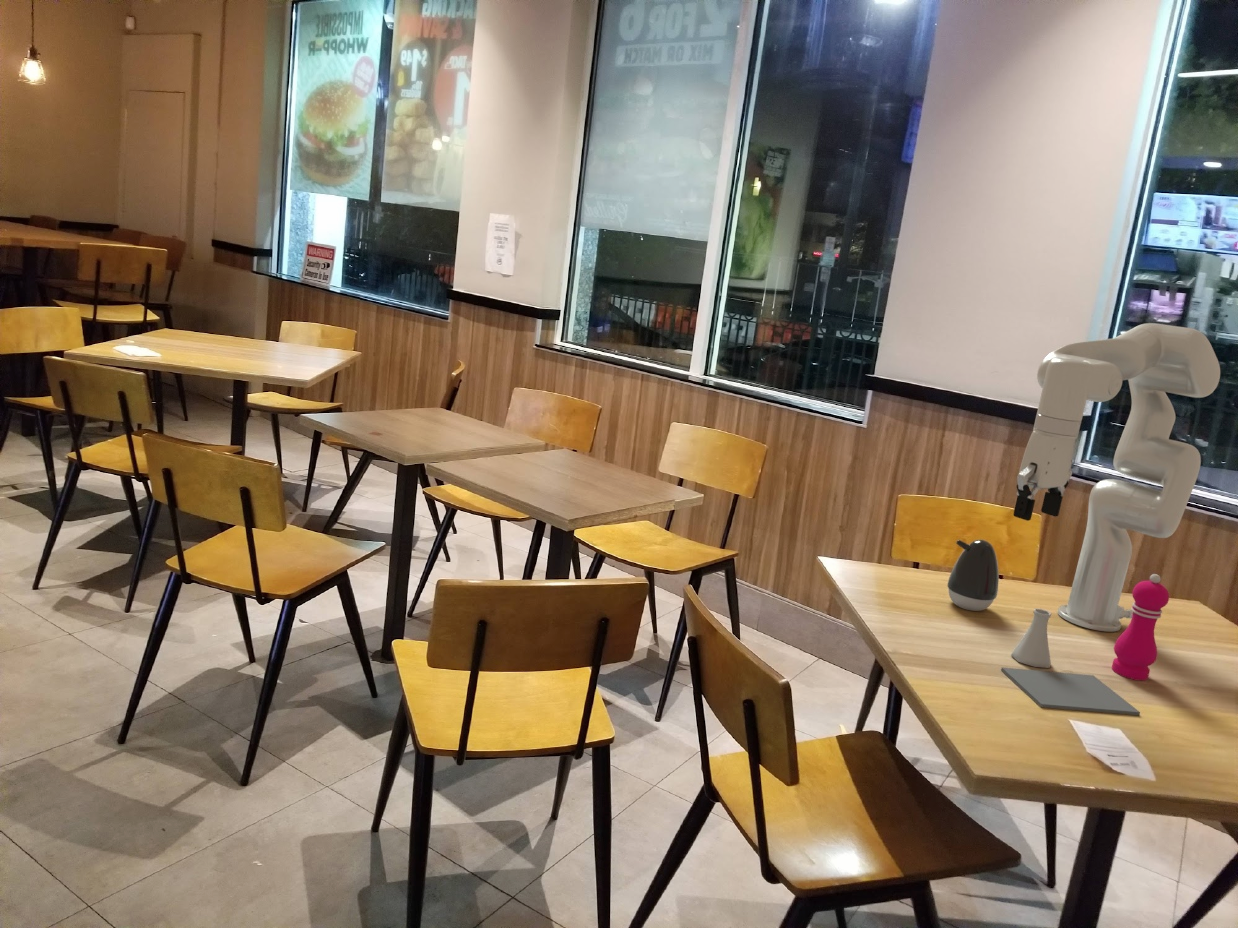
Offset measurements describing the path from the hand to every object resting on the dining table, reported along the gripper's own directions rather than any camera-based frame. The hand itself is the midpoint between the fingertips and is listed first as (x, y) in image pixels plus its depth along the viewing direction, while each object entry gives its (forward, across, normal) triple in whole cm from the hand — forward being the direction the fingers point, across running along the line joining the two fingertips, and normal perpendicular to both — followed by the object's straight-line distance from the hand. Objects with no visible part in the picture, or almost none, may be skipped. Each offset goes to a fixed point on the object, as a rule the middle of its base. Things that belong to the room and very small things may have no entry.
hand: (1035, 516), depth 177 cm
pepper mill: (+28, -17, +16) cm, 36 cm away
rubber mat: (+27, +5, +16) cm, 32 cm away
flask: (+28, -2, +4) cm, 28 cm away
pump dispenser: (+28, -16, -18) cm, 37 cm away
